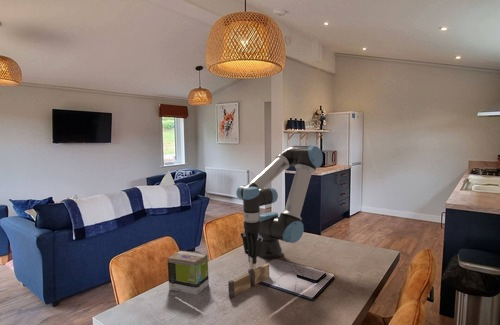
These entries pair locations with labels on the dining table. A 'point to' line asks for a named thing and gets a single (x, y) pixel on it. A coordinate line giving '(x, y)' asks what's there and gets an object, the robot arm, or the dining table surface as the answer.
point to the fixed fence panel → (239, 285)
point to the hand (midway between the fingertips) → (252, 269)
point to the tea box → (188, 272)
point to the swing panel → (258, 274)
